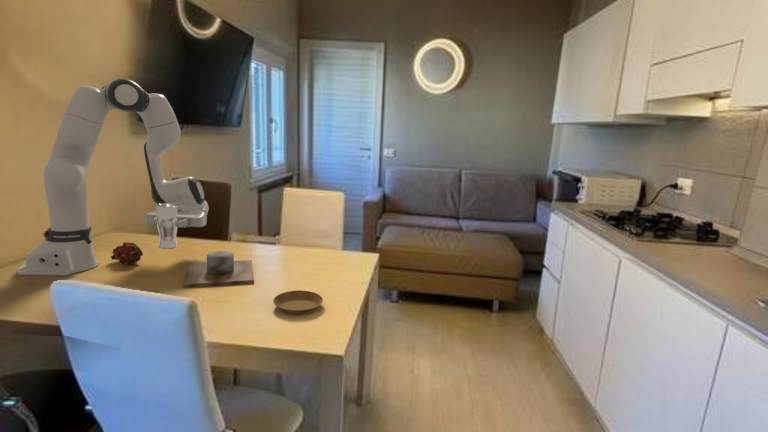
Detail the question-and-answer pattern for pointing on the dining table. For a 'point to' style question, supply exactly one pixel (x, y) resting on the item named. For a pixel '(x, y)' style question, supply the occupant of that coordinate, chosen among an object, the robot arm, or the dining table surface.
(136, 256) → the brown pine cone
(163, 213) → the beer glass
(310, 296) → the plant saucer
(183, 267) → the dining table surface
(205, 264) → the post stand
